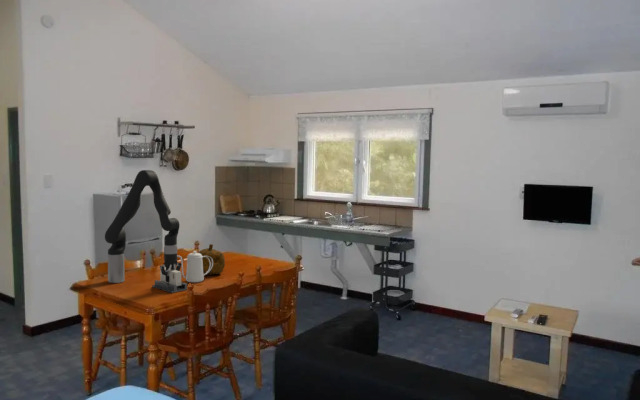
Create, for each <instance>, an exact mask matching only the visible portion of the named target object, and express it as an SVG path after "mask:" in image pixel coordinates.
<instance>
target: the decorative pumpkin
mask: <svg viewBox="0 0 640 400" xmlns="http://www.w3.org/2000/svg"><path fill="white" fill-rule="evenodd" d="M213 247H214V245H213V244H212V243H211V244H209V247H208V248H207V247H206V248H203V249H201V250H200V251H198V252H197V253H200V254H201V255H202V256H205V257H202V261H203V274H205V273H206V272H207V271H208V269H209V267H210V262H211V266H212V260H213V267H212V269H211V270H210V271H209V273H207V274H206V275H207V276H213V275H219V274H222V272H223V271H224V269H225V265H226V262H225V261H226V259H225V256H224V254H223V252H221V251H219V250H216V249H213ZM208 256H209V257H208ZM210 257H211V258H212V259H211V258H210ZM208 258H209V259H208ZM209 260H210V262H209ZM210 268H211V267H210ZM206 275H205V276H206Z"/></svg>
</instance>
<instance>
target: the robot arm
mask: <svg viewBox="0 0 640 400" xmlns="http://www.w3.org/2000/svg"><path fill="white" fill-rule="evenodd" d="M147 186H148V187H149V188H150V189H151V192H152V195H153V205H154V208H155V211H156V212H157V215H158V216H159V222H160V226H161V229H162V230H163V231H165V232H168V233H167V234H165V235H164V239H163V240H164V246H163V261H164V262H163V264H162V265H159V270H160V269H161V272H162V275H165V276H166V282H169V272H170V270H171V269H173V270H177V271H180V270H181V269H182V266H181V262H178V257H177V255H178V240H177V239H178V235H179V232H180V231H179V230H180V221H179V219H178V218H176V217H171V218H170V217H169V215H170V214H171V208H170V206H169V204H168V203H167V201H166V199H165V195H164V192H163V189H162V186H161V182H160V180H159V177H158V174H157V173H156V172H155V171H154V170H152V169H151V170H150V169H147V170H146V169H143V170H140V171H139V172H138V173H137V175H136V176H135V178H134V181H133V184H132V186H131V188H130V191H129V192H128V194H127V196H126V197H125V200H124V201H123V203H122V205H121V207H120V208H119V210H118V212H117V214H116V216H115V218H114V219H113V220H112V222H111V223H110V225H109V227H108V228H107V229H106V231H105V234H104V240H105V242H106V243H107V244H111V246H110V247H109V248H108V250H107V281H108V283H110V284H119V283H124V282H125V280H126V279H125V250H126V245H127V244H126V242H127V241H126V240H127V239H126V238H127V234H126V232H125V229H124V226H126V224H127V223H129V222H130V220H132V219H133V218H134V216H135V215H136V214H137V213H138V210H139V209H140V207H141V195H142V193H143V191H144V189H145V188H146V187H147ZM165 267H166V269H165Z"/></svg>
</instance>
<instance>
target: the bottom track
mask: <svg viewBox="0 0 640 400" xmlns="http://www.w3.org/2000/svg"><path fill="white" fill-rule="evenodd" d="M187 285H189V283H186V282H182V281H181V285H180V286H175V285H172V284H169V283H165V282H162V281H161V280H160V279H158V280H154V284H153V285H152V288H154V289H158V290H162V291H164V292H166V293H167V292H168V293H171V294H175V293H178V292H183V291H188V290H187Z"/></svg>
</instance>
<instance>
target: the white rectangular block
mask: <svg viewBox="0 0 640 400" xmlns="http://www.w3.org/2000/svg"><path fill="white" fill-rule="evenodd" d="M165 269H166V267H165ZM159 270H160V271H159V273H160V279H159V280H160V281H162V282H165V283H169V284H172V285H175V286H180V285H181V282H182V270H181V271H177V270H173V269H171V270H170V272H169V282H166V276H165V275H162V272H161V269H160V268H159Z"/></svg>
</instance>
